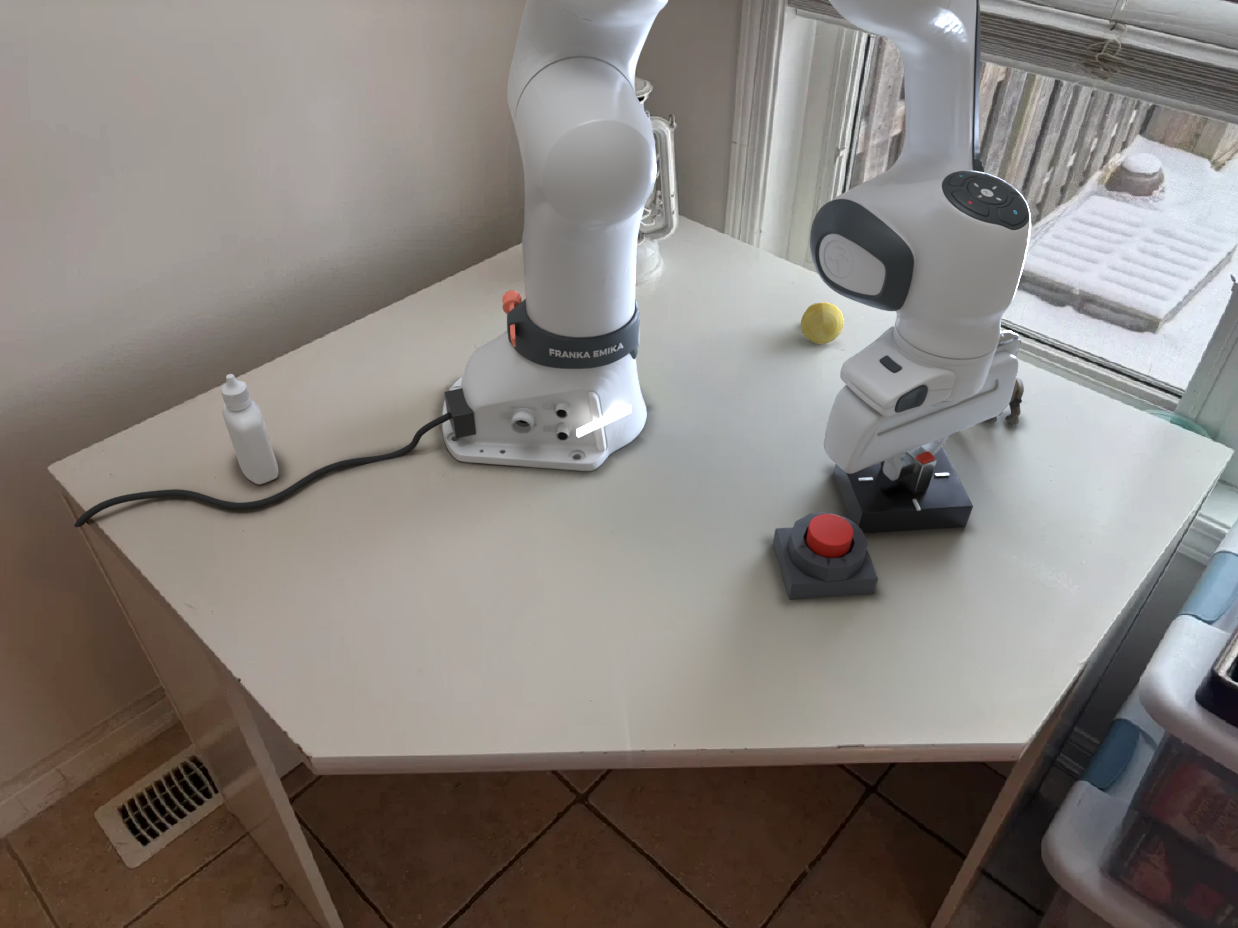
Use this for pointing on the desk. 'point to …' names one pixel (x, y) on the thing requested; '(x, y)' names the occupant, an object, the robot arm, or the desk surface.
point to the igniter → (822, 564)
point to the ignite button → (829, 535)
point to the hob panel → (904, 500)
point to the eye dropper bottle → (248, 432)
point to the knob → (822, 322)
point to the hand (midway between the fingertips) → (905, 469)
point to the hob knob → (917, 470)
